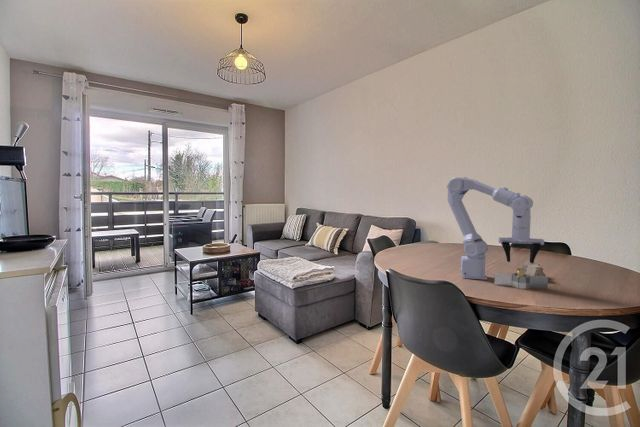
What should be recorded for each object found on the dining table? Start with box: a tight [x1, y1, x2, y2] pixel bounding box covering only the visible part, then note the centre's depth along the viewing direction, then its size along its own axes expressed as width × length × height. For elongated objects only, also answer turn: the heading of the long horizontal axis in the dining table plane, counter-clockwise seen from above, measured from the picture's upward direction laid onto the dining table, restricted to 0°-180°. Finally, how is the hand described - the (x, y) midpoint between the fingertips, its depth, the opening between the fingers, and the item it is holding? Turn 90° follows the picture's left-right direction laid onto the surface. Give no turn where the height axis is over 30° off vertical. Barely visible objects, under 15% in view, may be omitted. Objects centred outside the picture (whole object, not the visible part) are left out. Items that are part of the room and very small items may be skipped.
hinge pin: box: [516, 267, 525, 277], centre depth 116 cm, size 2×2×7 cm
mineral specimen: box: [520, 261, 547, 277], centre depth 128 cm, size 13×7×6 cm, turn 174°
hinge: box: [493, 272, 549, 290], centre depth 116 cm, size 17×6×4 cm, turn 69°
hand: (519, 262), depth 117 cm, fingers open, 7 cm apart
